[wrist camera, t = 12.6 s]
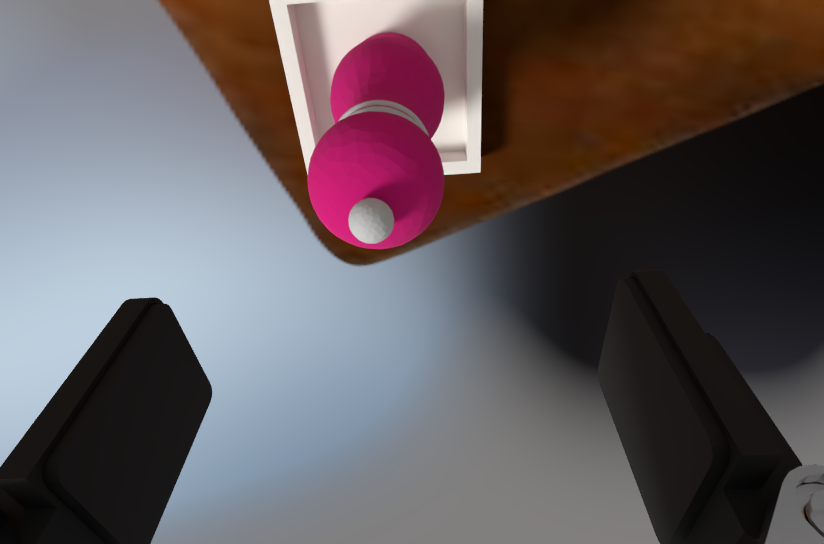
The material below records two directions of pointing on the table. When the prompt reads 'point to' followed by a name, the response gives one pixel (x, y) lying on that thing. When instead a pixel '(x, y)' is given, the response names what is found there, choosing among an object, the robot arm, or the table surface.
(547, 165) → the table surface
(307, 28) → the ceramic dish
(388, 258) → the table surface
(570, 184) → the table surface
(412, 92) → the pepper mill
